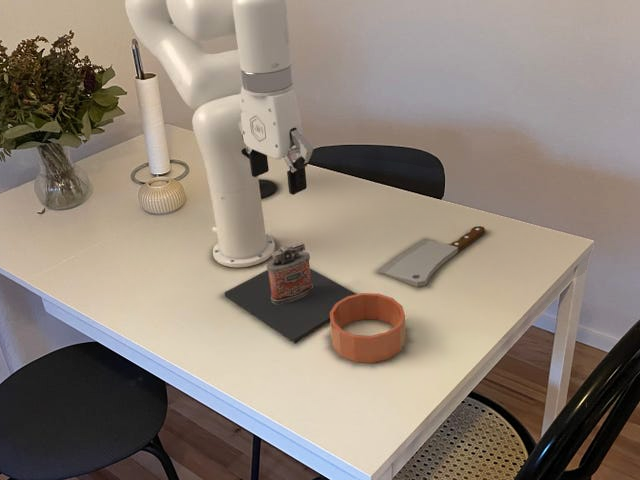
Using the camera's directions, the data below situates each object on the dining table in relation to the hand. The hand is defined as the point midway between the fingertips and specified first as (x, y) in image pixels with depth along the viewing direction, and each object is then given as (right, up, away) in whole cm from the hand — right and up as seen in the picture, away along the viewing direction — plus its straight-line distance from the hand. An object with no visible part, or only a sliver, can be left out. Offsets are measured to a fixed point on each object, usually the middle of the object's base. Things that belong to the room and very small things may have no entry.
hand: (278, 182), depth 108 cm
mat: (+2, -19, +12) cm, 23 cm away
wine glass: (-7, +5, +51) cm, 52 cm away
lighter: (+2, -19, +12) cm, 22 cm away
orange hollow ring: (+15, -25, +1) cm, 29 cm away
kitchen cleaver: (+30, -11, +21) cm, 38 cm away
